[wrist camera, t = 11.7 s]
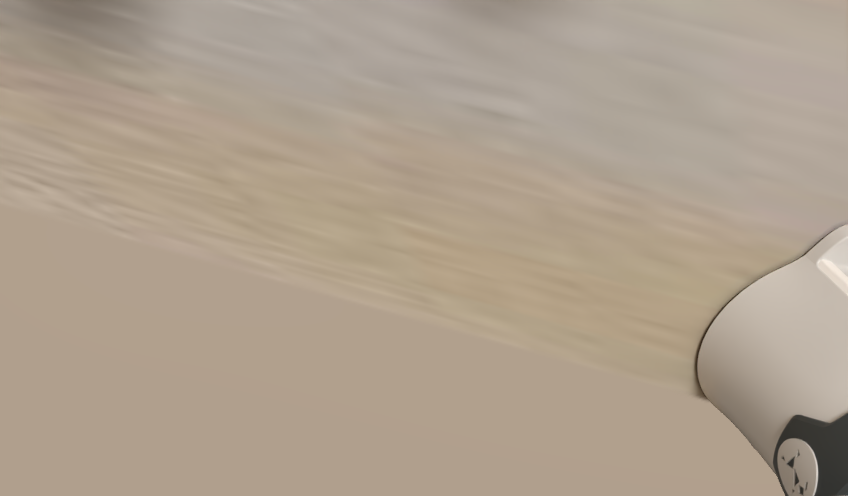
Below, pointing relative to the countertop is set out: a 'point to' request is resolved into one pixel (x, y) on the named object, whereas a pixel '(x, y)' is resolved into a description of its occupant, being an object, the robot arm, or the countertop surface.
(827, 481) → the robot arm
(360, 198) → the countertop surface
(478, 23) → the countertop surface
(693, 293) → the countertop surface
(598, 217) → the countertop surface
